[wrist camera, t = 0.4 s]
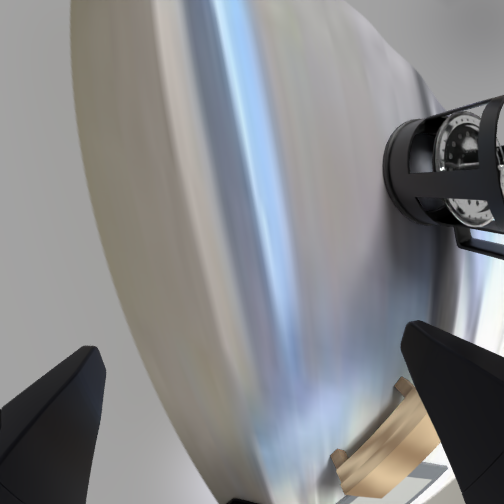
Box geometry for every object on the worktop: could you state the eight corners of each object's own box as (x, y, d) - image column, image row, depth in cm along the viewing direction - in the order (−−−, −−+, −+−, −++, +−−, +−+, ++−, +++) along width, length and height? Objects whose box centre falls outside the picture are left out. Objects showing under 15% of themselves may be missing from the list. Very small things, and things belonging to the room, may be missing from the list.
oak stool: (362, 465, 29) (381, 498, 23) (327, 456, 28) (344, 494, 22) (430, 390, 28) (460, 418, 22) (401, 374, 27) (433, 405, 21)
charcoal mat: (390, 516, 33) (391, 518, 32) (324, 512, 30) (325, 515, 29) (446, 466, 32) (448, 468, 31) (391, 455, 29) (393, 458, 28)
